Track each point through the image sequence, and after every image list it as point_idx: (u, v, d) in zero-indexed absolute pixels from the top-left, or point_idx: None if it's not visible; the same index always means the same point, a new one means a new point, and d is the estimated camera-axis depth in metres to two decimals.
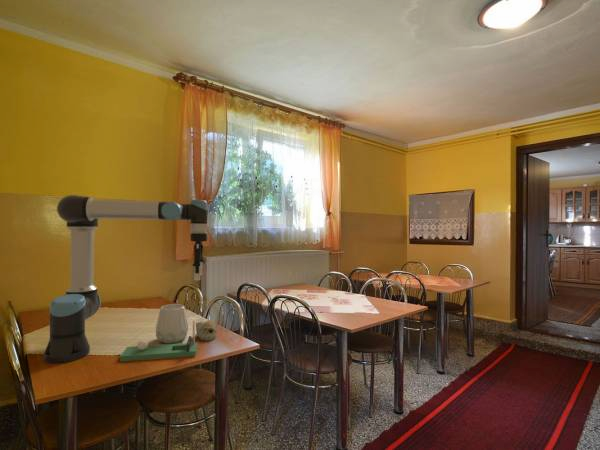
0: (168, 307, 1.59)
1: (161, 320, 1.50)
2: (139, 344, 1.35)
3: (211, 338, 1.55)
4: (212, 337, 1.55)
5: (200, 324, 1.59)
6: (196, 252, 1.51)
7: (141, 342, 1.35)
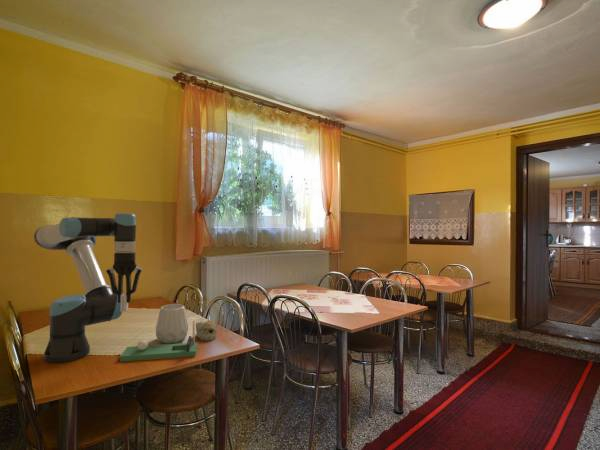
0: (168, 307, 1.59)
1: (161, 320, 1.50)
2: (139, 344, 1.35)
3: (211, 338, 1.55)
4: (212, 337, 1.55)
5: (200, 324, 1.58)
6: None
7: (141, 342, 1.35)
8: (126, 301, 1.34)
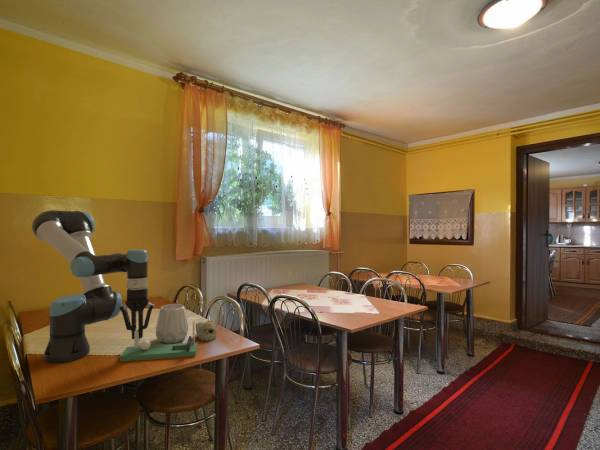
0: (168, 307, 1.59)
1: (161, 320, 1.50)
2: (143, 343, 1.35)
3: (211, 338, 1.55)
4: (212, 337, 1.55)
5: (200, 324, 1.58)
6: None
7: (145, 342, 1.36)
8: (138, 337, 1.35)
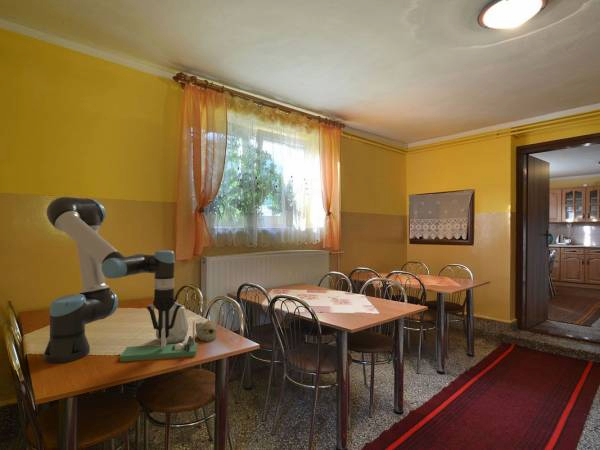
0: None
1: None
2: (180, 346, 1.38)
3: (211, 338, 1.54)
4: (212, 337, 1.55)
5: (200, 325, 1.58)
6: None
7: (182, 347, 1.39)
8: (165, 336, 1.38)
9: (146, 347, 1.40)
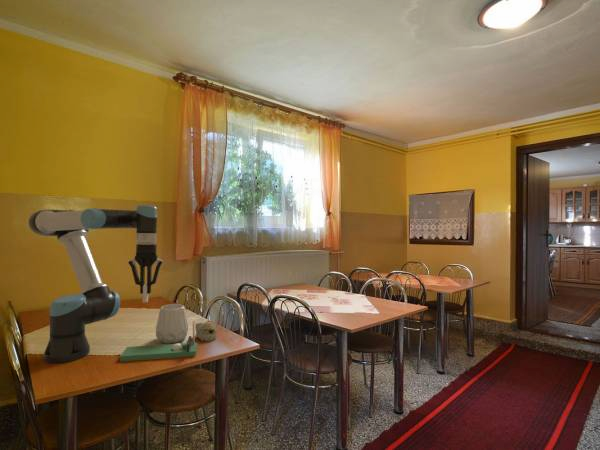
0: (168, 307, 1.59)
1: (161, 320, 1.50)
2: (176, 346, 1.38)
3: (211, 339, 1.54)
4: (212, 338, 1.55)
5: (200, 325, 1.57)
6: None
7: (179, 346, 1.38)
8: (147, 292, 1.36)
9: (146, 347, 1.40)
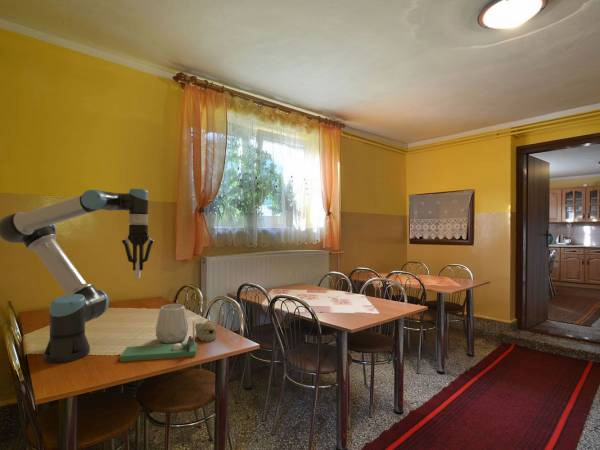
0: (168, 307, 1.59)
1: (161, 320, 1.50)
2: (177, 346, 1.38)
3: (211, 339, 1.54)
4: (212, 338, 1.54)
5: (200, 325, 1.57)
6: None
7: (179, 346, 1.38)
8: (139, 269, 1.47)
9: (146, 347, 1.40)
